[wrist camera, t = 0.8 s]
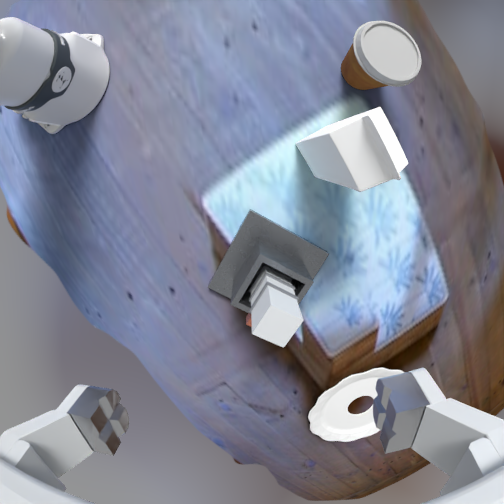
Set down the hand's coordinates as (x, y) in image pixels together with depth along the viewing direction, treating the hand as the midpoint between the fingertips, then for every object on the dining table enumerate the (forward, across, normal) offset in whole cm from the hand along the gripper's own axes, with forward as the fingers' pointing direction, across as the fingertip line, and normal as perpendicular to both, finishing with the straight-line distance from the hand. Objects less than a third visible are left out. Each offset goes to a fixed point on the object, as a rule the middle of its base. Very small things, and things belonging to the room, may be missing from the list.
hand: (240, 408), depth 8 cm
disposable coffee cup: (+38, -18, -22) cm, 47 cm away
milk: (+38, -10, -9) cm, 41 cm away
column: (+37, 0, +8) cm, 38 cm away
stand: (+39, +1, +8) cm, 40 cm away
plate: (+43, -17, +44) cm, 64 cm away
